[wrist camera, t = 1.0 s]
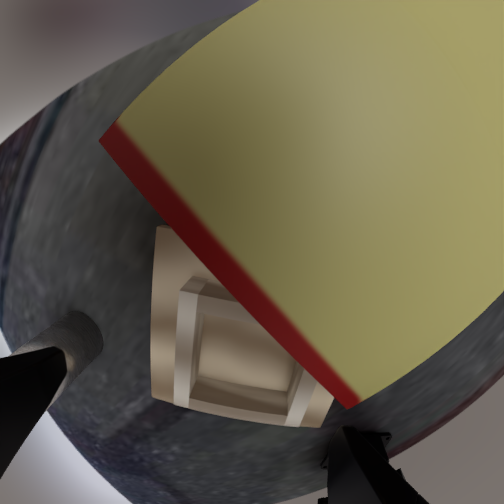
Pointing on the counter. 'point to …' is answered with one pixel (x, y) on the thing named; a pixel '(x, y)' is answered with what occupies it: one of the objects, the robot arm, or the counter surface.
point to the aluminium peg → (69, 344)
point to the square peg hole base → (220, 349)
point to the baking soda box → (336, 174)
